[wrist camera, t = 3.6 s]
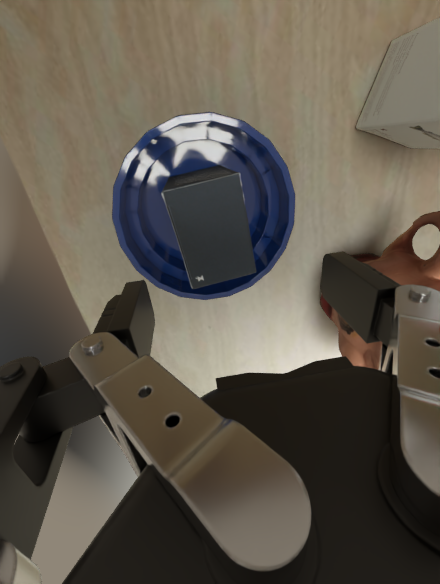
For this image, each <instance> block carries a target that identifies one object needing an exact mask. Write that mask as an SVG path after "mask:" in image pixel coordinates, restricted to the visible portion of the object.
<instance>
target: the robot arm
mask: <svg viewBox="0 0 440 584" xmlns="http://www.w3.org/2000/svg"><path fill="white" fill-rule="evenodd" d="M321 293H322V296H323V297H324V299H325V300H326V301H327V302H328V303H329V304H330V305H331V306H332V307H333V308H334V310H335V311H336V312H337V313H338V314H339V315H340V316H341V317H342V318H343V319H344V320H345V321H346V322H347V323H348V324H349V325H350V326H351V328H352V329H353V330H354V331H355V332H356V333H357V334H358V335H359V336H360V337H361V338H362V339H363V340H364V341H365V342H366V343H367V344H368V343H373V342H379V341H381V342H382V346H381V350H380V359H379V370H377V369H373V368H368V367H362V366H353V365H352V363H351V362H350V361H349V359H348V358H347V357H346V356H344V357H338V358H332V359H326V360H320V361H315V362H312V363H310V364H307V365H305V366H303V367H300V368H298V369H295V370H293V371H291V372H288V373H284V374H273V373H244V374H238V375H233V376H227V377H221V378H216V383H217V389H216V390H213V391H211V392H209V393H207V394H205V395H204V396H202V397H201V398H199V397H198V396H197V395H196V394H194V393H193V392H192V391H191V390H190V389H188V388H187V387H186V386H185V385H184V384H183V383H181V382H180V381H179V380H178V379H177V378H175V377H174V376H173V375H172V374H171V373H170V372H168V371H167V370H166V369H165V368H164V367H162V366H161V365H160V364H159V363H158V362H157V361H155V360H154V359H153V358H152V357H151V356H150V352H151V345H152V339H153V332H154V326H155V318H154V312H153V308H152V304H151V300H150V296H149V293H148V289H147V285H146V282H145V281H144V280H141V281H135V282H128V283H126V284H125V287H124V289H123V292H122V294H121V295H115V296H114V297H113V298H112V299H111V300H110V301H109V302H108V303H107V305H106V307H105V309H104V311H103V313H102V315H101V317H100V319H99V321H98V324H97V326H96V328H95V330H94V332H93V334H91V335H88V336H86V337H84V338H82V339H81V340H79V341H78V342H77V343H75V344H74V345H73V346H72V348H71V349H70V351H69V357H68V358H65V359H63V360H60V361H57V362H54V363H52V364H49V365H46V366H43V367H42V365H41V364H40V362H39V360H38V359H37V358H35V357H23V358H19V359H16V360H13V361H10V362H8V363H6V364H4V365H3V366H1V367H0V584H42V580H41V573H40V570H39V568H38V567H37V565H36V564H35V563H34V562H32V561H31V557H32V554H33V551H34V548H35V544H36V541H37V538H38V535H39V532H40V529H41V526H42V523H43V519H44V516H45V513H46V510H47V507H48V504H49V501H50V498H51V495H52V492H53V488H54V485H55V482H56V479H57V476H58V473H59V470H60V467H61V464H62V461H63V458H64V454H65V451H66V448H67V445H68V442H69V439H70V436H71V433H72V430H73V427H74V426H76V425H78V424H80V423H83V422H85V421H87V420H89V419H92V418H94V417H96V416H98V415H99V417H100V418H101V420H102V421H103V423H104V424H105V426H106V427H107V429H108V430H109V432H110V433H111V435H112V436H113V438H114V439H115V441H116V442H117V443H118V445H119V446H120V448H121V450H122V451H123V452H124V454H125V456H126V458H127V459H128V460H129V463H130V464H131V466H132V468H133V470H134V471H135V473H136V475H137V476H138V478H137V479H136V481H135V482H134V484H133V485H132V486H131V488H130V489H129V491H128V492H127V493H126V495H125V496H124V498H123V499H122V500H121V502H120V503H119V505H118V506H117V507H116V509H115V510H114V512H113V513H112V514H111V516H110V517H109V519H108V520H107V521H106V523H105V524H104V526H103V527H102V528H101V530H100V531H99V532H98V534H97V535H96V537H95V538H94V540H93V541H92V542H91V544H90V545H89V546H88V548H87V549H86V551H85V552H84V554H83V555H82V556H81V558H80V559H79V560H78V562H77V563H76V565H75V566H74V568H73V569H72V570H71V572H70V573H69V575H68V576H67V577H66V579H65V580H64V581H63V583H62V584H440V292H439V291H437V290H435V289H432V288H430V287H426V286H421V285H400V284H399V283H397V282H395V281H394V280H392V279H391V278H389V277H387V276H386V275H383V273H381V272H380V271H378V270H376V269H375V268H373V267H372V266H370V265H368V264H366V263H363V262H360V261H358V260H356V259H354V258H353V257H351V256H350V255H348V254H347V253H345V252H337V253H330V254H326V255H325V256H324V258H323V266H322V277H321ZM18 434H20V435H19V437H18V439H17V440H16V438H17V436H18ZM15 440H16V442H15ZM14 443H15V444H14Z"/></svg>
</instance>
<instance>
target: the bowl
mask: <svg viewBox="0 0 440 584" xmlns="http://www.w3.org/2000/svg"><path fill="white" fill-rule="evenodd" d="M217 165H221V166H223V167H226V168H228V169H231V170H233V171H236V172H239V173H240V176H241V182H242V188H243V194H244V201H245V206H246V212H247V218H248V224H249V230H250V236H251V242H252V248H253V254H254V260H255V265H256V273H253V274H249V275H246V276H242V277H239V278H235V279H231V280H227V281H223V282H219V283H215V284H211V285H208V286H204V287H200V288H197V289H192V288H191V285H190V281H189V278H188V274H187V271H186V267H185V264H184V261H183V257H182V254H181V251H180V248H179V244H178V241H177V238H176V235H175V232H174V229H173V226H172V223H171V219H170V216H169V214H168V211H167V208H166V205H165V202H164V200H163V197H162V195H161V193H162V190H163V188H164V186H165V184H166V182H167V180H168V178H169V177H172V176H176V175H180V174H184V173H188V172H193V171H197V170H201V169H205V168H209V167H213V166H217ZM294 213H295V193H294V189H293V185H292V182H291V178H290V174H289V171H288V167H287V165H286V164H285V162H284V161H283V159H282V158H281V156H280V155H279V153H278V152H277V150H276V149H275V147H274V146H273V144H272V143H271V141H270V140H269V139H268V138H266V137H265V136H264V135H262V134H261V133H259V132H258V131H257V130H255V129H254V128H253V127H251V126H250V125H249V124H247V123H246V122H245V121H242V120H239V119H235V118H231V117H228V116H224V115H221V114H217V113H214V112H212V113H211V112H206V113H196V114H187V115H178V116H176V117H174V118H172V119H170V120H168V121H166V122H164V123H162V124H160V125H158V126H156V127H154V128H153V129H151V130H149V131H148V132H146V133H145V134H144V136H143V137H142V138H141V139H140V140H139V141H138V142H137V144H136V145H135V146H134V147H133V148H132V149H131V150H130V151H129V153H128V154H127V155H126V157H125V158H124V161H123V163H122V166H121V168H120V171H119V173H118V176H117V179H116V181H115V184H114V187H113V209H112V219H113V223H114V226H115V230H116V233H117V237H118V240H119V243H120V246H121V248H122V250H123V251H124V253H125V254H126V256H127V257H128V259H129V260H130V262H131V263H132V265H133V266H134V268H135V269H136V270H137V271H138V272H139V273H140V274H142V275H143V276H144V277H145V278H146V279H148V280H149V281H150V282H151V283H153V284H154V285H155V286H156V287H158V288H160V289H163V290H165V291H167V292H170V293H172V294H174V295H177V296H179V297H185V298H193V299H201V300H208V299H215V298H221V297H228V296H231V295H233V294H235V293H238V292H240V291H242V290H244V289H247V288H249V287H251V286H252V285H254V284H255V283H256V282H257V281H258V280H260V279H261V278H262V277H263V276H264V275H266V274H267V273H268V272H269V271H270V270H271V269H272V268H273V266H274V265H275V263H276V262H277V261H278V259H279V258H280V256H281V255H282V253H283V252H284V250H285V249H286V246H287V243H288V240H289V237H290V234H291V231H292V228H293V225H294Z"/></svg>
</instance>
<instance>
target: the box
mask: <svg viewBox="0 0 440 584" xmlns="http://www.w3.org/2000/svg"><path fill="white" fill-rule="evenodd" d="M161 195H162V197H163V200H164V202H165V205H166V208H167V211H168V214H169V216H170V219H171V223H172V226H173V229H174V232H175V235H176V238H177V241H178V244H179V248H180V251H181V254H182V257H183V261H184V264H185V267H186V271H187V274H188V278H189V281H190V285H191V288H192V289H197V288H200V287H204V286H208V285H211V284H215V283H219V282H223V281H227V280H231V279H235V278H239V277H242V276H246V275H249V274H253V273H256V265H255V260H254V254H253V248H252V242H251V236H250V230H249V224H248V218H247V212H246V206H245V201H244V194H243V188H242V182H241V176H240V173H239V172H236V171H233V170H231V169H228V168H226V167H223V166H221V165H217V166H213V167H209V168H205V169H201V170H197V171H193V172H188V173H184V174H180V175H176V176H172V177H169V178H168V180H167V182H166V184H165V186H164V188H163V190H162V193H161Z"/></svg>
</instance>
